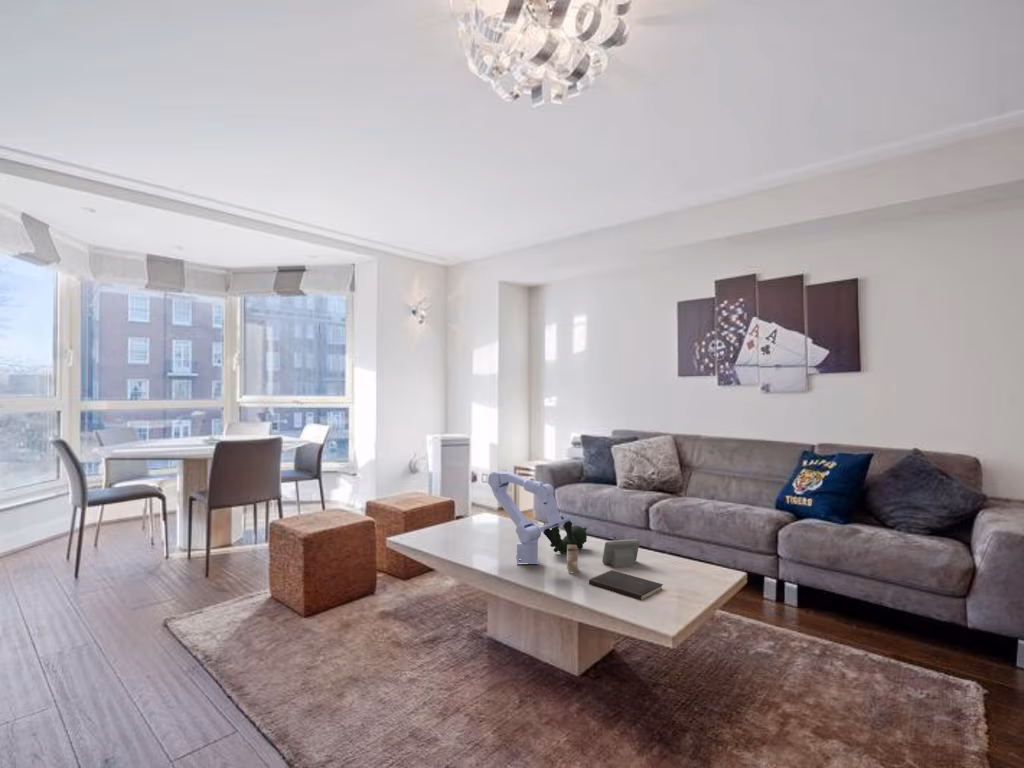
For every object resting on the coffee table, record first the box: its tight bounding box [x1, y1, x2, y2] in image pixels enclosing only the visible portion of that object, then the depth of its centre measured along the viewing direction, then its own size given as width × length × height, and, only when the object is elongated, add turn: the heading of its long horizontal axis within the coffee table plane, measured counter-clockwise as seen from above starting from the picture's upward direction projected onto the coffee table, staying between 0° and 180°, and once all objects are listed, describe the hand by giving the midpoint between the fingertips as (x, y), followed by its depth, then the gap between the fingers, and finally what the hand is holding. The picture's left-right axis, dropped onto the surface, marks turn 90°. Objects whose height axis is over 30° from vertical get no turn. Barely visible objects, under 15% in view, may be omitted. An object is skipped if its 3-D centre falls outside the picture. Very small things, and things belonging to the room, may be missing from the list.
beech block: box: [566, 545, 579, 574], centre depth 217 cm, size 4×6×10 cm, turn 178°
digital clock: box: [602, 538, 640, 568], centre depth 226 cm, size 16×9×11 cm, turn 91°
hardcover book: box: [588, 569, 664, 601], centre depth 199 cm, size 16×23×2 cm
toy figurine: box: [549, 515, 588, 555], centre depth 244 cm, size 9×19×25 cm
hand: (562, 543), depth 218 cm, fingers open, 7 cm apart
